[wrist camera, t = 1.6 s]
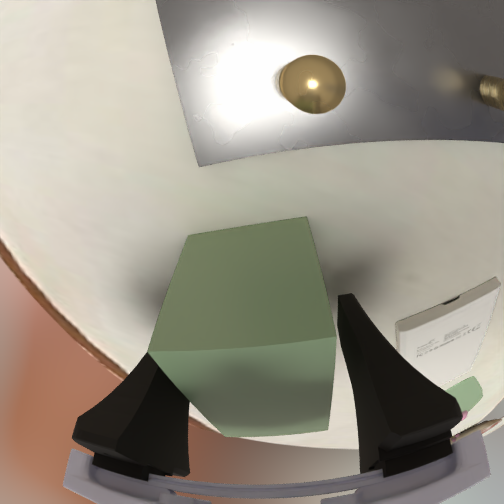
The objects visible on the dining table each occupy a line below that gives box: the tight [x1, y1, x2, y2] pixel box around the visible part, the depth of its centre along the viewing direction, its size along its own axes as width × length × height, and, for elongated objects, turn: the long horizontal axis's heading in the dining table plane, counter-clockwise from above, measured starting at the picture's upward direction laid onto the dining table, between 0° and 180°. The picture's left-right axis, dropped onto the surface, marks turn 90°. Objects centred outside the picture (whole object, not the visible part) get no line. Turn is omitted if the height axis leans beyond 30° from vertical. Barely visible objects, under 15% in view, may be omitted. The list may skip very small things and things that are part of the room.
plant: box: [446, 376, 483, 442], centre depth 26 cm, size 25×21×9 cm
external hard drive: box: [396, 277, 501, 387], centre depth 17 cm, size 2×8×12 cm
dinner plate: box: [450, 419, 502, 444], centre depth 49 cm, size 27×27×3 cm
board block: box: [147, 217, 337, 437], centre depth 11 cm, size 5×8×6 cm, turn 11°
